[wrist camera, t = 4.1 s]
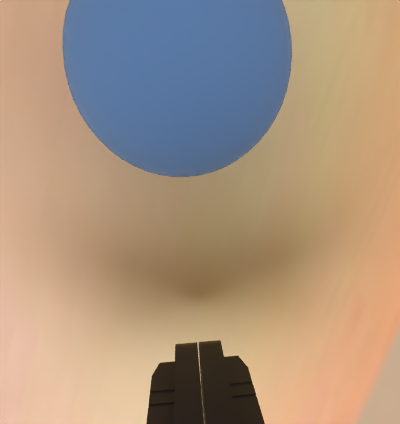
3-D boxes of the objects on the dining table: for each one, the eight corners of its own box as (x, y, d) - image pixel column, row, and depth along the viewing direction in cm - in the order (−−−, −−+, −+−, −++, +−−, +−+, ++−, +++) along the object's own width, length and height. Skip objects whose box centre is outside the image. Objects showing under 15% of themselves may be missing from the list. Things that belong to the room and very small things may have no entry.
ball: (87, -4, 10) (-30, -181, 4) (258, -8, 11) (353, -177, 5) (109, 169, 12) (43, 204, 6) (257, 161, 12) (328, 187, 6)
